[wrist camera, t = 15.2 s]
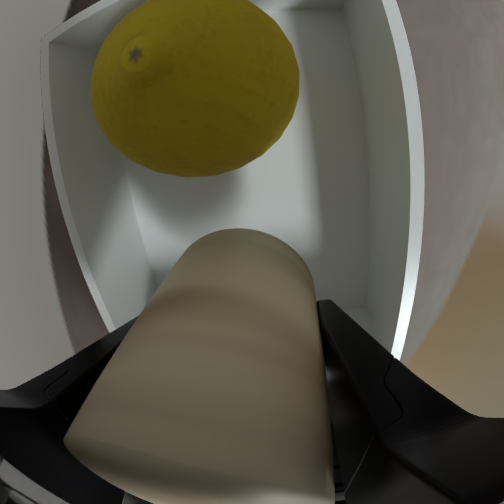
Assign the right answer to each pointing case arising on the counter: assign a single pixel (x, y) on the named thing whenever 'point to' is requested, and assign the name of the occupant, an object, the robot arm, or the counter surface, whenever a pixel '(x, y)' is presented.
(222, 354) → the birch peg
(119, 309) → the tote
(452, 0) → the counter surface
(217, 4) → the lemon
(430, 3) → the counter surface
